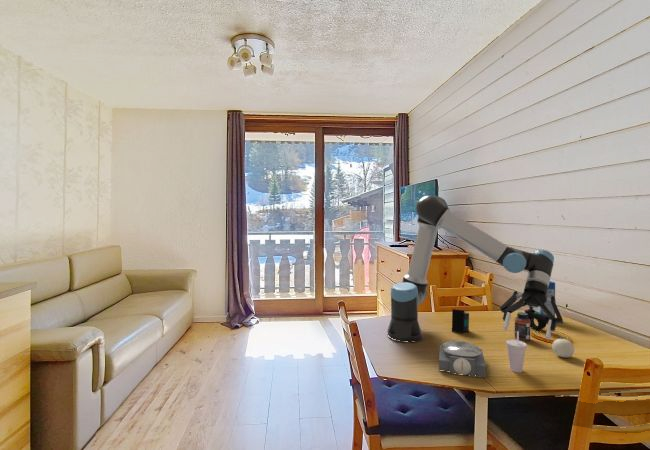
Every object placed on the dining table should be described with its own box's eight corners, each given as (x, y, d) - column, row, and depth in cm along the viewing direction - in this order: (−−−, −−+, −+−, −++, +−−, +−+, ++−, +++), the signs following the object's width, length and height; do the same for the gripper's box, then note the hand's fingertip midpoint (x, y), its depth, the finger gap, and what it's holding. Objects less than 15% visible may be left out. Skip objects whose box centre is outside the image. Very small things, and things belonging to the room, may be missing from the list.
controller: (529, 325, 162) (529, 304, 162) (553, 333, 151) (553, 311, 150) (522, 326, 161) (522, 305, 161) (546, 334, 149) (546, 312, 149)
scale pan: (442, 355, 117) (442, 352, 117) (442, 341, 129) (442, 338, 129) (482, 360, 113) (482, 357, 113) (479, 345, 125) (479, 343, 125)
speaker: (463, 334, 151) (463, 311, 152) (451, 331, 155) (451, 309, 156) (471, 331, 156) (471, 309, 156) (459, 329, 160) (459, 307, 161)
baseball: (577, 357, 126) (578, 339, 126) (569, 362, 122) (569, 344, 122) (557, 351, 132) (557, 334, 132) (549, 355, 128) (549, 338, 128)
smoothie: (519, 376, 113) (519, 335, 112) (501, 368, 118) (501, 329, 118) (530, 371, 116) (531, 332, 115) (513, 364, 121) (513, 326, 121)
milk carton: (554, 322, 166) (555, 282, 165) (542, 322, 166) (542, 282, 165) (542, 316, 176) (542, 278, 175) (530, 316, 176) (530, 278, 175)
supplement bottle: (532, 342, 141) (532, 315, 141) (517, 341, 143) (517, 315, 142) (527, 336, 147) (527, 311, 147) (512, 336, 149) (512, 311, 148)
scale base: (438, 372, 116) (438, 355, 116) (440, 353, 131) (439, 339, 131) (486, 379, 111) (486, 361, 110) (481, 359, 126) (481, 343, 125)
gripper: (577, 295, 123) (569, 347, 113) (504, 286, 141) (491, 330, 131) (575, 283, 119) (565, 336, 109) (500, 275, 137) (486, 320, 127)
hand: (525, 333), depth 120 cm, fingers open, 13 cm apart
